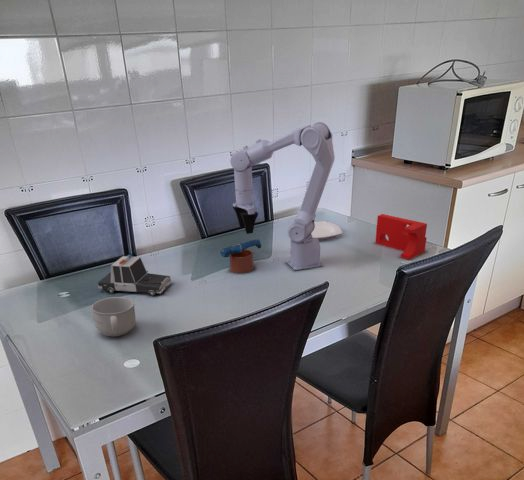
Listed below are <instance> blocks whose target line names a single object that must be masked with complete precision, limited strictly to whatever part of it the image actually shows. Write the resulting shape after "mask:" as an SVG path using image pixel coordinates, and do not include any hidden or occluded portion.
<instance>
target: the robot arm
mask: <svg viewBox="0 0 524 480" xmlns="http://www.w3.org/2000/svg"><path fill="white" fill-rule="evenodd" d="M291 145H296V146H298V147H302V146H303V147H304V148H305V150H306V151H307V152H308V153H309V154H310V155H311V156H312V158H313V159H314V161H315V165H314V167H313V170H312V174H311V176H310V179H309V182H308V185H307V187H306V190H305V194H304V197H303V200H302V203H301V205H300V208H299V211H298V213H297V214H296V216H295V218H294V221H293V223H292V224H290V226H289V227H288V229H287V236H288V237H289V239H290V260H286V264H287V265H288V266H289V267H290V268H292V269H293V270H294V271H301V270H306V269H312V268H313V269H314V268H319V267H321V266H322V264H321V243H320V239H319V240H318V239H317V238H316V237H314V238H313V237H312V234H311V233H312V232H313V230H314V228H315V223H314V222H315V220H316V216H317V215H316V213H317V209H318V206H319V204H320V201H321V199H322V195H323V194H324V190H325V187H326V185H327V182H328V179H329V176H330V173H331V171H332V168H333V166H334V162H335V158H336V157H335V151H334V144H333V133H332V131H331V129H330V128H329V126H328V125H327V124H326V123H325V122H321V121H319V122H315V123H313V124H312V125H311V124H309V125H304V126H302V127H298V128H296V129H293V130H291V131H289V132H287V133H285V134H283V135H281V136H279V137H276V138H275V139H272V140H271V141H270V140H266V139H262V138H259V139H256V141H255V143H253V144H251V145H249V146H248V145H245V146H243V147H242V149H240V150H237V151H235V152H233V153H232V155H231V156H230V160H229V161H230V166H231V167H232V168H233V175H234V190H235V202H233V203H232V209H233V210H234V213H235V215H236V219H237V221H238V222H237V223H238V225H239V227H240V228H244V229H245V234H246V235H250V234H253V233H254V229H255V223H256V220H257V218H258V215H259V212H257V211H255V202H254V187H253V186H254V184H253V169H252V168H253V166H256V165H259V164H260V163H263V162H266V161H267V160H270V159H271V158H272V157H273V154H274V153H275V152H276V151H279V150H281V149H284V148H286V147H289V146H291Z"/></svg>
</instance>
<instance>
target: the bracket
mask: <svg viewBox="0 0 524 480" xmlns="http://www.w3.org/2000/svg"><path fill="white" fill-rule="evenodd" d="M376 218H377V219H376V228H375V229H376V230H375V242H374V243H375V244H376V245H379V246H384V247H388V248H392V249H396V250H399V251H403V252H402V253H401V254H400V259H405V260H412V259H413V258H415V257H417V256H419V255H421V254H423V253H425V252H426V246H427V237H426V234H427V228H428V223H426V222H421V221H417V220H412V219H407V218H403V217H398V216H394V215H388V214H385V213H381V214H379V215H377V217H376Z"/></svg>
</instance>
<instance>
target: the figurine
mask: <svg viewBox="0 0 524 480" xmlns="http://www.w3.org/2000/svg"><path fill="white" fill-rule="evenodd" d="M254 246H256V247H257V248H258V249H261V248H262V243H261V240H260V239H259V238H255V239H251V240H247V241H245V242H244V241H243V242H239V243H237V244H235V245H229V246H226V247H223V248H221V249H220V255H221V257H222V258H229V256H230V254H233V255H234V254H238V253H240V252H242V251H244V250H245V249H247V250H248V249H249V248H252V247H254Z"/></svg>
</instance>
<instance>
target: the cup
mask: <svg viewBox="0 0 524 480" xmlns="http://www.w3.org/2000/svg"><path fill="white" fill-rule="evenodd" d="M228 259H229V269H230V270H229V271H231V272H232V273H235V274H247V273H250V272H252V271H254V269H255V268H254V266H255V265H254V251H252V250H251V249H248V248H247V249H245V250H244V251H242V252H240V253H238V254H234V255H233V254H230V256H229V257H228Z"/></svg>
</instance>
